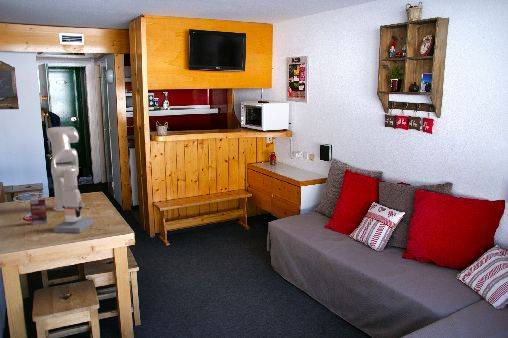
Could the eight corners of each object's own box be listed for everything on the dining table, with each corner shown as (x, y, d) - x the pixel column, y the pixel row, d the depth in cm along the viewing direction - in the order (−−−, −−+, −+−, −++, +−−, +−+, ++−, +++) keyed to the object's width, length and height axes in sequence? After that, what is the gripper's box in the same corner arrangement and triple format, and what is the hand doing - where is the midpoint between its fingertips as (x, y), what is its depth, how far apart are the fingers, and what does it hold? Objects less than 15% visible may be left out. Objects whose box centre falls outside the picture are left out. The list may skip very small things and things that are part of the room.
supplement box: (32, 225, 273) (29, 200, 270) (32, 222, 277) (29, 198, 274) (47, 223, 277) (45, 198, 274) (47, 220, 281) (44, 197, 278)
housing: (65, 221, 264) (64, 208, 263) (72, 217, 272) (71, 205, 270) (75, 221, 264) (74, 209, 262) (81, 217, 271) (80, 205, 270)
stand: (69, 222, 278) (68, 217, 278) (93, 223, 277) (93, 218, 276) (54, 232, 261) (53, 227, 260) (79, 232, 259) (79, 228, 259)
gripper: (54, 189, 261) (56, 218, 265) (81, 189, 259) (84, 218, 263) (60, 186, 268) (63, 214, 272) (87, 186, 267) (89, 215, 270)
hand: (73, 216), depth 267 cm, fingers closed on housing, 6 cm apart
